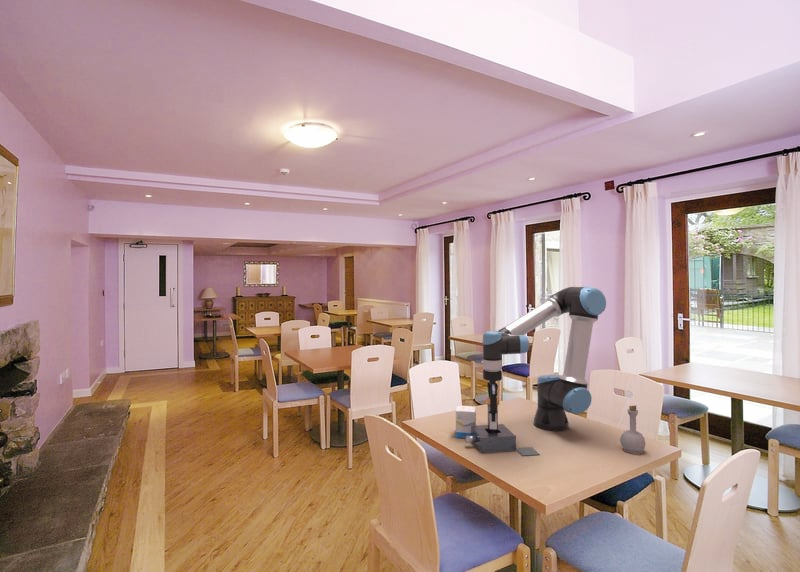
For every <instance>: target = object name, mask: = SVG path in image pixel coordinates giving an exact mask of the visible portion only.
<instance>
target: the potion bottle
mask: <svg viewBox="0 0 800 572" xmlns="http://www.w3.org/2000/svg"><path fill="white" fill-rule="evenodd" d="M628 407H629V408H628V409H627V413H628V416H629V430H628V429H627V430H625V431H623V432H622V434H621V436H620V438H619V441H620V445H621V446H622V450H623V451H624V452H625V453H628V452H629V453H628V454H632V453H634V454H633V455H640V453H642V452H643V451H645V447H646V440H645V437H644V436H643V433H641V432H639V431H637V416H638V414H639V410H638V409H637V405H629V406H628ZM642 454H643V453H642Z"/></svg>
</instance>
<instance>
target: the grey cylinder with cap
mask: <svg viewBox="0 0 800 572" xmlns="http://www.w3.org/2000/svg"><path fill="white" fill-rule="evenodd" d="M485 404H486V405H487V425H488V433H498V424H499V421H498V420H499V416H498V414H499V409H498V408H499V407H498V406H499V405H500V399H499V398H498V397H497V429H490V413H488V412H490V398H489V397H486V398H485Z"/></svg>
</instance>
